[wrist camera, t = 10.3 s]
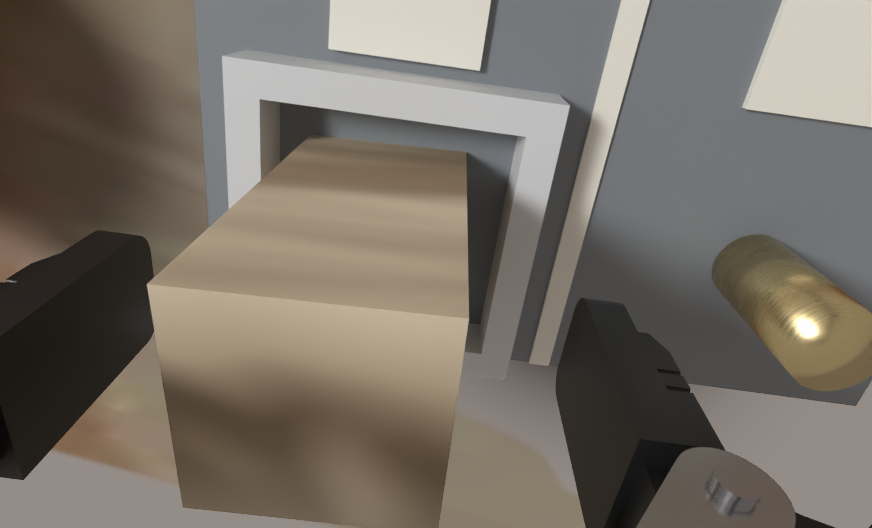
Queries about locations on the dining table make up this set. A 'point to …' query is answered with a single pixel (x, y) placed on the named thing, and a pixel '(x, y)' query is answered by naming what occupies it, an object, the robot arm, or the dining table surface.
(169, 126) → the dining table surface
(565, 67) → the board
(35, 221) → the dining table surface
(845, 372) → the pin
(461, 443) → the dining table surface
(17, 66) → the dining table surface
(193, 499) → the square pin
